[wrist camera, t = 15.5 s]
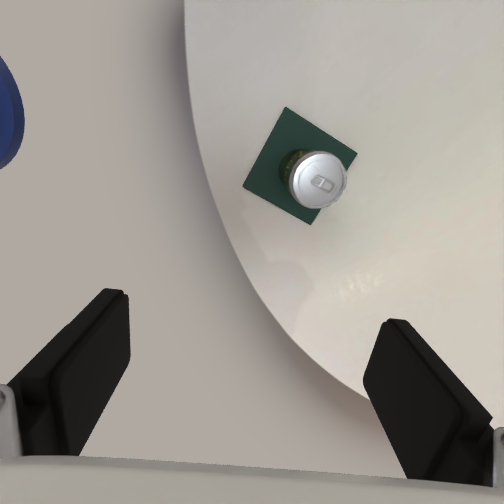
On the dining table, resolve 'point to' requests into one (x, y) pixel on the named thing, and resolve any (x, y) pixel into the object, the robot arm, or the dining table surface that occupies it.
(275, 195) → the front mat
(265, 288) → the dining table surface
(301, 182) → the beer can
